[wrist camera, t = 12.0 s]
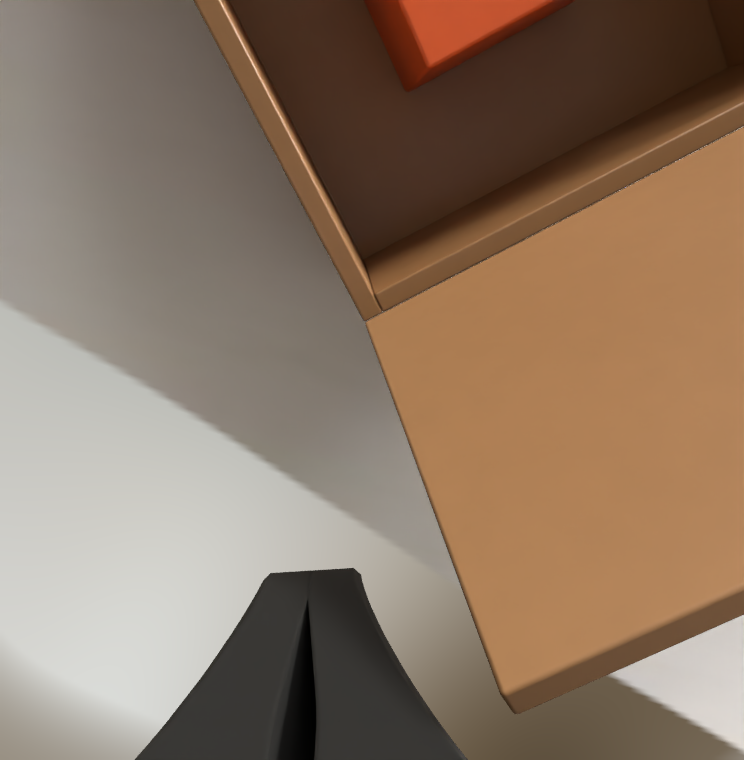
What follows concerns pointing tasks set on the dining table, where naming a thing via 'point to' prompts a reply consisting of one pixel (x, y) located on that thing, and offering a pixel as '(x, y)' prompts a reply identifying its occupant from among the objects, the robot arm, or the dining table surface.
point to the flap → (588, 427)
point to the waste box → (475, 124)
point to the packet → (449, 31)
